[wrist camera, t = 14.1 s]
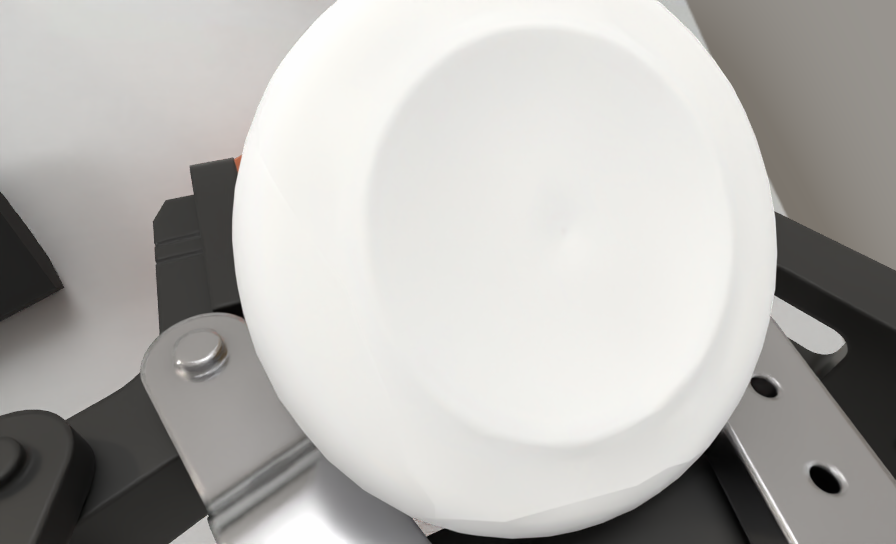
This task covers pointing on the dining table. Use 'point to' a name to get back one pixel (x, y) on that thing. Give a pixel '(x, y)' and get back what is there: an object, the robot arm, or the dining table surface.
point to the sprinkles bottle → (505, 254)
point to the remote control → (22, 265)
